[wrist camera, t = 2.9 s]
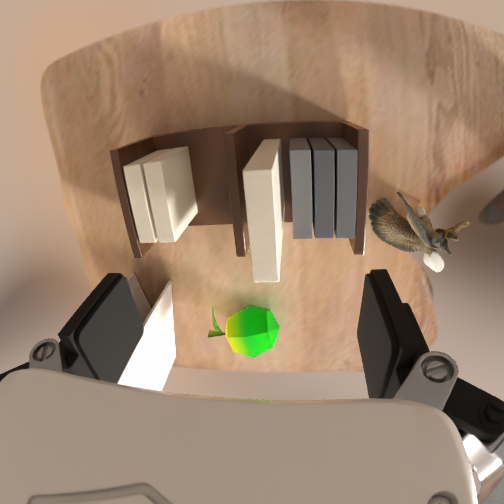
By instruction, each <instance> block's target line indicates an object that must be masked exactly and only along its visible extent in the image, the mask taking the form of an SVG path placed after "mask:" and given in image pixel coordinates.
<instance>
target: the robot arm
mask: <svg viewBox="0 0 504 504" xmlns="http://www.w3.org/2000/svg"><path fill="white" fill-rule="evenodd" d="M143 333H144V327H143V324H142V321H141V318H140V316H139V313H138V310H137V307H136V304H135V302H134V299H133V296H132V293H131V290H130V287H129V284H128V281H127V278H126V277H124V276H123V275H122V274H121V273H108V274H107V275H106V276H105V277H104V278H103V280H102V281H101V282H100V283H99V284H98V285H97V287H96V288H95V289H94V290H93V291H92V293H91V294H90V295H89V296H88V297H87V298H86V300H85V301H84V302H83V303H82V305H81V306H80V307H79V308H78V309H77V311H76V312H75V313H74V314H73V316H72V317H71V318H70V320H69V321H68V322H67V323H66V325H65V326H64V327H63V329H62V330H61V331H60V333H59V334H58V336H59V337H60V339H61V341H60V342H59V343H58V342H57V341H56V340H55V339H45V340H42V341H40V342H39V343H37V344H36V345H35V346H34V347H33V348H32V350H31V352H30V355H29V362H27V363H25V364H22V365H20V366H18V367H16V368H13V369H11V370H9V371H7V372H5V373H2V374H0V504H504V402H503V401H502V400H500V399H498V398H497V397H495V396H492V395H491V394H489V393H487V392H485V391H483V390H481V389H479V388H477V387H475V386H473V385H472V384H470V383H468V382H466V381H464V380H462V379H460V378H458V372H459V371H458V366H457V364H456V362H455V361H454V360H453V359H452V358H451V357H450V356H449V355H447V354H445V353H442V352H437V351H431V352H430V351H429V349H428V346H427V344H426V342H425V339H424V337H423V334H422V332H421V330H420V328H419V325H418V323H417V321H416V319H415V316H414V314H413V312H412V310H411V308H410V306H409V304H408V303H402V302H401V299H400V297H399V295H398V293H397V291H396V288H395V286H394V284H393V282H392V280H391V278H390V276H389V274H388V272H387V270H386V269H377V270H371V272H370V274H366V275H365V281H364V289H363V296H362V303H361V310H360V316H359V323H358V329H357V338H358V343H359V347H360V352H361V357H362V362H363V367H364V373H365V378H366V383H367V389H368V395H369V399H338V400H258V399H256V400H255V399H236V398H222V397H210V396H199V395H189V394H180V393H173V392H165V391H158V390H151V389H145V388H139V387H133V386H127V385H121V384H118V382H119V380H120V378H121V376H122V374H123V372H124V370H125V368H126V366H127V364H128V362H129V360H130V358H131V356H132V355H133V353H134V351H135V349H136V347H137V345H138V343H139V341H140V339H141V338H142V336H143ZM470 463H471V464H472V466H473V467H474V468H475V469H474V470H473V471H474V472H475V473H476V475H477V476H478V477H479V479H480V481H481V490H480V493H479V495H478V496H477V493H476V488H475V483H474V479H473V474H472V470H471V465H470ZM430 498H431V499H430Z"/></svg>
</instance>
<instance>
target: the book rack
mask: <svg viewBox="0 0 504 504" xmlns="http://www.w3.org/2000/svg"><path fill="white" fill-rule="evenodd" d="M290 138H306V139H307V142H308V138H325V140H326V141H327V138H343V139H344V140H346V141H347V142H348V143H349V144H351V145H352V146H353V147H354V148H356V149H357V204H356V225H355V238H349V241H350V244H351V247H352V249H353V252H354V255H363V254H364V243H365V230H366V216H367V197H368V167H369V130H368V129H365V128H363V127H361V126H358V125H356V124H353V123H351V122H348V121H303V122H275V123H258V124H245V125H233V126H223V127H213V128H204V129H196V130H189V131H182V132H175V133H168V134H162V135H156V136H150V137H147V138H144V139H141V140H138V141H135V142H133V143H130V144H127V145H124V146H122V147H119V148H116V149H114V150H111V151H110V154H111V159H112V165H113V170H114V175H115V180H116V185H117V189H118V194H119V198H120V203H121V207H122V211H123V216H124V220H125V224H126V228H127V232H128V236H129V239H130V243H131V247H132V251H133V254H134V258H142V257H143V256H144V255H145V254H146V252H147V251H148V250H149V249H150V248H151V246H152V245H153V244H154V243H140V241H139V237H138V233H137V229H136V224H135V220H134V216H133V212H132V207H131V203H130V198H129V193H128V189H127V184H126V179H125V174H124V168H123V167H124V166H125V165H127V164H129V163H131V162H134V161H136V160H138V159H140V158H142V157H144V156H146V155H148V154H150V153H153V152H155V151H157V150H164V149H173V148H179V147H186V146H188V148H189V156H190V163H191V170H192V177H193V184H194V190H195V197H196V204H197V210H198V213H197V214H196V215H195V216H194V218H193V219H192V220H191V222H190V223H189V224H188V226H193V225H217V224H233V229H234V237H235V245H236V254H237V257H246V255H247V252H248V248H249V245H250V243H249V233H248V223H247V212H246V202H245V192H244V182H243V170H244V168H245V167H246V165H247V164H248V162H249V161H250V159H251V158H252V156H253V155H254V153H255V152H256V150H257V149H258V147H259V146H260V144H261V143H262V141H263V140H264V139H281V152H282V169H283V186H284V206H285V210H284V222H293V215H292V190H291V169H290V151H289V150H290ZM308 145H309V143H308ZM312 222H313V221H312Z"/></svg>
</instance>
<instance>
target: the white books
mask: <svg viewBox="0 0 504 504" xmlns="http://www.w3.org/2000/svg"><path fill="white" fill-rule="evenodd" d="M123 168H124V174H125V179H126V184H127V189H128V193H129V198H130V203H131V207H132V212H133V216H134V220H135V224H136V229H137V233H138V237H139V241H140V243H155V242H156V241H157V240H159V242H176V240H177V239H178V238H179V236H180V235H181V234H182V232H183V231H184V230H185V228H186V227H187V226H188V224H189V223H190V222H191V220H192V219H193V218H194V216H195V215H196V214H197V213H198V210H197V204H196V197H195V190H194V184H193V177H192V170H191V163H190V156H189V148H188V146H186V147H179V148H173V149H164V150H157V151H155V152H153V153H150V154H148V155H146V156H144V157H142V158H140V159H138V160H136V161H134V162H131V163H129V164H127V165H125V166H124V167H123Z"/></svg>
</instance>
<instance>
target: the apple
mask: <svg viewBox="0 0 504 504" xmlns="http://www.w3.org/2000/svg"><path fill="white" fill-rule="evenodd" d="M212 312H213V307H212ZM213 326H214V328H215V330H217V331H213V330H210V331H209V334H208V337H214V336H221V335H226V337H227V339H228V341H229V343H230V346H231V348H232V350H233V352H236V353H239V354H243V355H246V356H250V357H255V356H257V355H259V354H261V353H263V352H264V351H266V350H268V349H270V348H272V347H273V346H274V344H275V342H276V338H277V334H278V330H279V325H278V323H277V321H276V319H275V318H274V316H273V314H272V312H271V311H270V309H266V308H262V307H257V306H253V305H249V306H247V307H246V308H244V309H242V310H240V311H238V312H237V313H235V314H233V315H231V316H230V317H228V318H227V321H226V330H225V333H223V332H222V331H221V329H220V328H219V326H218V325H217V323H216V320H215V317H214V312H213ZM218 331H219V332H218Z"/></svg>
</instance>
